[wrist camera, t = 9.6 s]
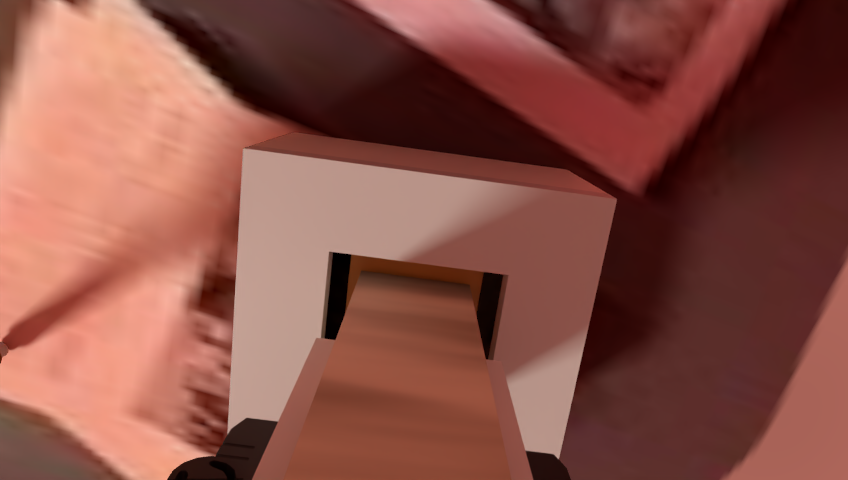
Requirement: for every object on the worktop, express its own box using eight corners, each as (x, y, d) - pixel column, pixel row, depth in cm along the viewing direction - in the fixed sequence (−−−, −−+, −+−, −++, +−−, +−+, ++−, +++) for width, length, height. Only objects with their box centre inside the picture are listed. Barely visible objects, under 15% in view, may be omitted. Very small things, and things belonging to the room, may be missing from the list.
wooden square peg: (453, 382, 22) (527, 1230, 6) (350, 369, 22) (118, 1193, 6) (469, 284, 21) (615, 968, 5) (361, 270, 21) (119, 917, 5)
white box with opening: (518, 411, 28) (546, 512, 21) (274, 380, 28) (225, 474, 21) (566, 169, 25) (617, 199, 18) (293, 132, 25) (243, 148, 18)
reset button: (460, 351, 26) (464, 385, 23) (349, 337, 26) (339, 369, 23) (477, 244, 24) (484, 265, 22) (361, 229, 24) (352, 248, 21)
